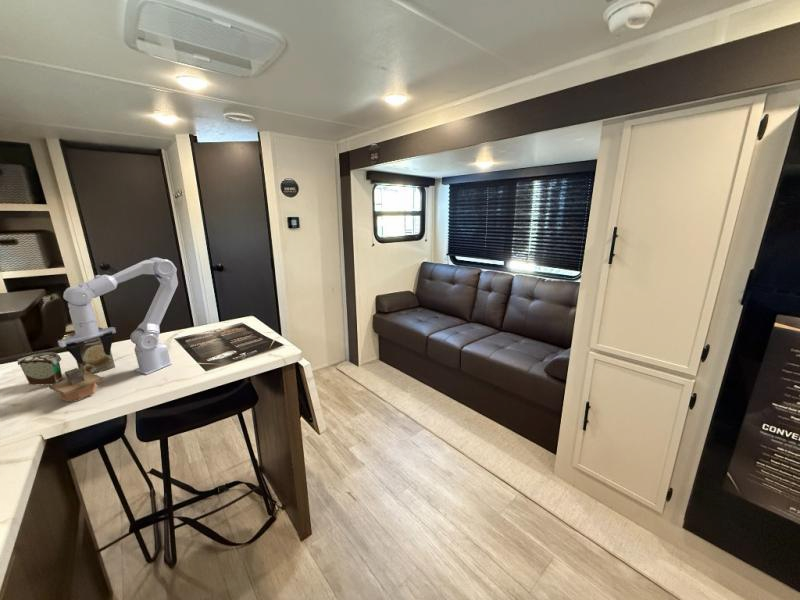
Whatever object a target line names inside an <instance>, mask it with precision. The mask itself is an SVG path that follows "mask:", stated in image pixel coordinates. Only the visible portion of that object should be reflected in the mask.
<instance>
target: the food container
mask: <svg viewBox="0 0 800 600" xmlns="http://www.w3.org/2000/svg"><path fill="white" fill-rule="evenodd" d="M61 360H62V358H61V356H60V355H59V354H58V353H57V352H42V353H37V354H36V353H35V354H32V355H29V356H24V357H22V358H19V359H17V362H16V363H17V365H18V366H20V369H21V370H22V373H23V374H24V377H25V378H26V380H27V382H28V384H29V386H39V384H40V386H42V385H41V384H44V385H45V386H47V385H46V384H55V383H58V382H61V381H63V380H62V379H63V374H62V369H61V363H60V361H61ZM37 384H38V385H37ZM44 385H43V386H44Z"/></svg>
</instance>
